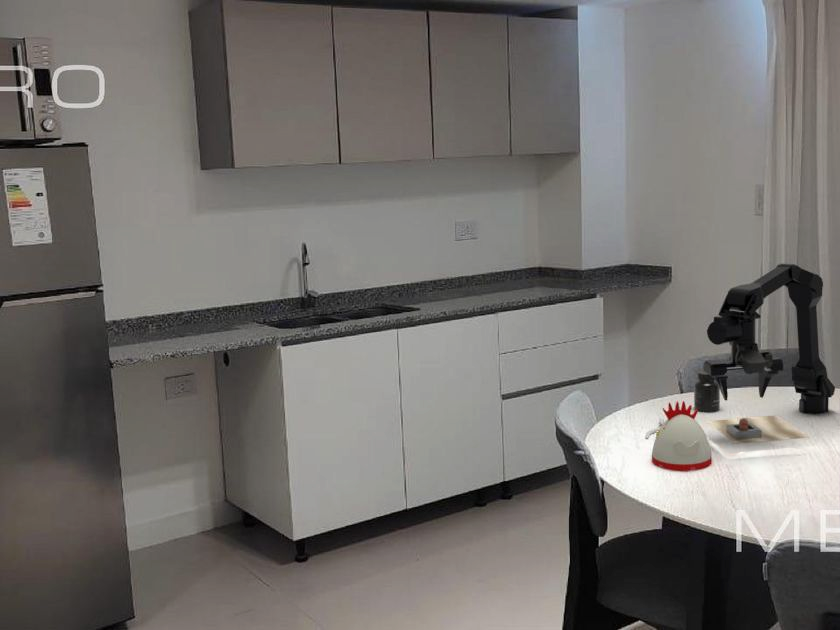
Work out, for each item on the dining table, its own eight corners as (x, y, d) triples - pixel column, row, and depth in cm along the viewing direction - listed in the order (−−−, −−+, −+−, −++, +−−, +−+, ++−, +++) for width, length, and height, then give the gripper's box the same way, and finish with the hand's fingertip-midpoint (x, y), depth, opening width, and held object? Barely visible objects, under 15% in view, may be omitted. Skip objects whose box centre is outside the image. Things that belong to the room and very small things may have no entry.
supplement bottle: (721, 417, 263) (720, 375, 260) (695, 417, 264) (694, 375, 262) (718, 410, 269) (718, 369, 267) (693, 411, 271) (692, 369, 269)
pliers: (645, 434, 248) (647, 418, 262) (645, 440, 248) (647, 423, 263) (684, 435, 245) (684, 418, 260) (684, 441, 246) (684, 424, 260)
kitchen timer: (646, 453, 237) (645, 395, 234) (702, 451, 236) (702, 392, 234) (659, 472, 223) (657, 410, 221) (718, 469, 223) (717, 407, 220)
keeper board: (774, 420, 257) (774, 399, 256) (810, 442, 237) (810, 420, 236) (705, 426, 255) (705, 405, 254) (735, 449, 236) (735, 426, 235)
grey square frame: (750, 430, 245) (750, 422, 245) (761, 437, 239) (761, 430, 238) (726, 432, 245) (726, 424, 244) (736, 439, 238) (736, 432, 238)
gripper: (719, 347, 229) (719, 410, 232) (794, 341, 230) (794, 404, 233) (702, 338, 240) (702, 398, 243) (774, 333, 241) (774, 392, 244)
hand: (743, 398), depth 240 cm, fingers open, 9 cm apart
